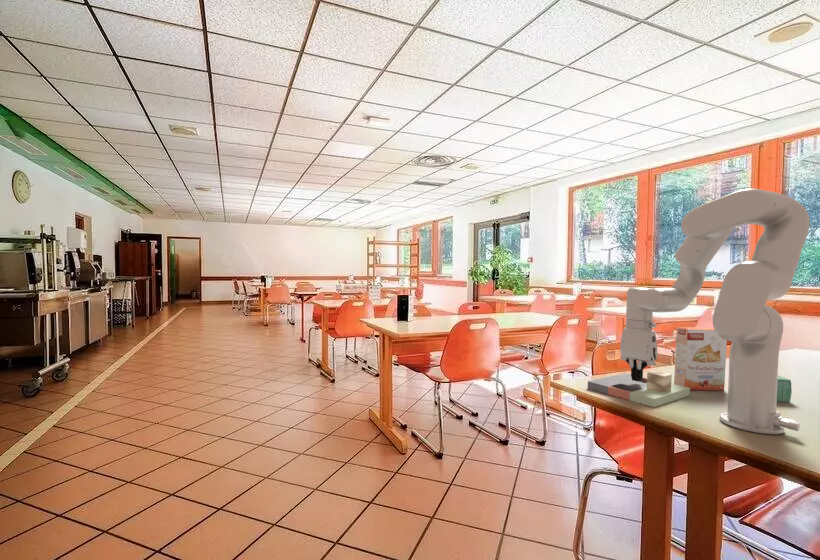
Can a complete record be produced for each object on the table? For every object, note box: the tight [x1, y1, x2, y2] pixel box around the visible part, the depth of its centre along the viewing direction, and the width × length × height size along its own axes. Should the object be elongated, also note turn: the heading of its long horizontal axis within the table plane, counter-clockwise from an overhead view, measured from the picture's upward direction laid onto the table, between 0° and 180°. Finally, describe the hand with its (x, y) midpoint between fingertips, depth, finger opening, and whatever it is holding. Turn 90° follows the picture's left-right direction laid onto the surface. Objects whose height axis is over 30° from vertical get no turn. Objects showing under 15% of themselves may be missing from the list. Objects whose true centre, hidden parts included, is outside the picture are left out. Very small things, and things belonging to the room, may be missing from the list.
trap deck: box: [587, 372, 691, 408], centre depth 130 cm, size 21×23×2 cm
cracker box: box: [673, 326, 728, 391], centre depth 135 cm, size 14×6×21 cm, turn 92°
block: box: [646, 370, 673, 392], centre depth 124 cm, size 5×5×5 cm
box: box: [777, 375, 793, 404], centre depth 126 cm, size 7×14×8 cm, turn 82°
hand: (636, 380), depth 130 cm, fingers closed
